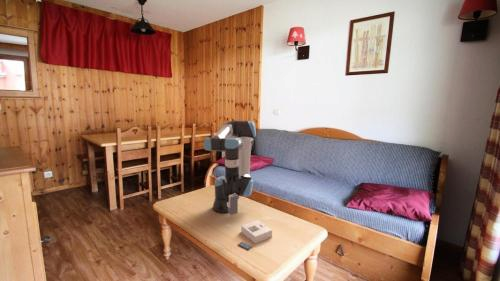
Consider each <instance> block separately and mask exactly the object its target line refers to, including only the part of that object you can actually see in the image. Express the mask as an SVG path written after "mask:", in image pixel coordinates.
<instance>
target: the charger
mask: <svg viewBox="0 0 500 281" xmlns="http://www.w3.org/2000/svg"><path fill="white" fill-rule="evenodd" d="M229 196H230V207H231V208H229V207H228V214H229V215H231V216H233V215H236V214H238V212H239V211H238V209H239V208H238V206H239V203H238V204H237V196H236V195H234V194H232V195H229Z"/></svg>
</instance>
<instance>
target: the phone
mask: <svg viewBox="0 0 500 281" xmlns="http://www.w3.org/2000/svg"><path fill="white" fill-rule="evenodd" d="M237 246H239V248H242V249H243V250H244V249H245V250H246V251H249V250H251V249H252V248H253V246H252V245H250V244H248V243H246V242H244V241H241V242H240V243H238V244H237Z"/></svg>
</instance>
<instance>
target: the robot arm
mask: <svg viewBox="0 0 500 281" xmlns="http://www.w3.org/2000/svg"><path fill="white" fill-rule="evenodd" d="M256 130H257V129H256V123H255V122H254V121H253V120H230V121H228V122H225V123H223V124H222V125H221V126H220V127H219V130H218V131H217V132H216V133H215V134H214V135H213V136H212V137H205V138H204V140H203V148H204V150H205V151H210V152H211V151H212V152H213V151H214V152H224V159H225V160H224V166H225V167H224V172H225V173H224V174H225V175H222V176H217V177H216V178H215V180H214V201H213V205H212V210H213V211H214V212H215V213H219V214H227V213H228V207H229V208H231V207H230V196H229V195H232V194H234V195H236V196H237V204H238V205H239V203H238V202H239V200H240V198H239V197H244V198H245V197H250V196H251V195H252V192H253V187H254V180H253V179H252V176H251V175H250V173H251V172H250V169H251V167H250V166H251V155H252V154H251V153H252V152H251V151H252V141H254V138H256V136H257V133H256ZM228 214H229V213H228Z"/></svg>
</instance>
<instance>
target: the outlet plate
mask: <svg viewBox="0 0 500 281" xmlns="http://www.w3.org/2000/svg"><path fill="white" fill-rule="evenodd" d="M240 231H241V233H242V234H243V235H245V236H246V237H247V239H249V240H250V241H252V243H254V244H257V243H260V242H262V241H264V240H267V239H269V238H271V237H273V229H271V228H270V227H268V226H267V225H266V224H265V223H263V222H261V221H260V220H259V219H255V220H253V221H250V222H247V223H245V224H241V225H240Z"/></svg>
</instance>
